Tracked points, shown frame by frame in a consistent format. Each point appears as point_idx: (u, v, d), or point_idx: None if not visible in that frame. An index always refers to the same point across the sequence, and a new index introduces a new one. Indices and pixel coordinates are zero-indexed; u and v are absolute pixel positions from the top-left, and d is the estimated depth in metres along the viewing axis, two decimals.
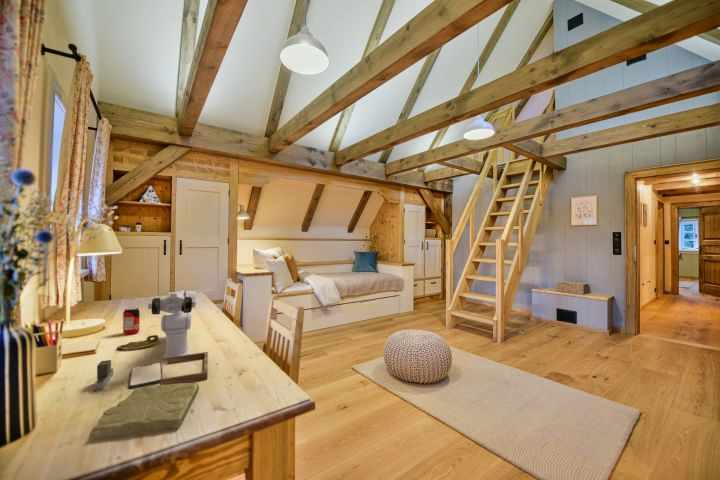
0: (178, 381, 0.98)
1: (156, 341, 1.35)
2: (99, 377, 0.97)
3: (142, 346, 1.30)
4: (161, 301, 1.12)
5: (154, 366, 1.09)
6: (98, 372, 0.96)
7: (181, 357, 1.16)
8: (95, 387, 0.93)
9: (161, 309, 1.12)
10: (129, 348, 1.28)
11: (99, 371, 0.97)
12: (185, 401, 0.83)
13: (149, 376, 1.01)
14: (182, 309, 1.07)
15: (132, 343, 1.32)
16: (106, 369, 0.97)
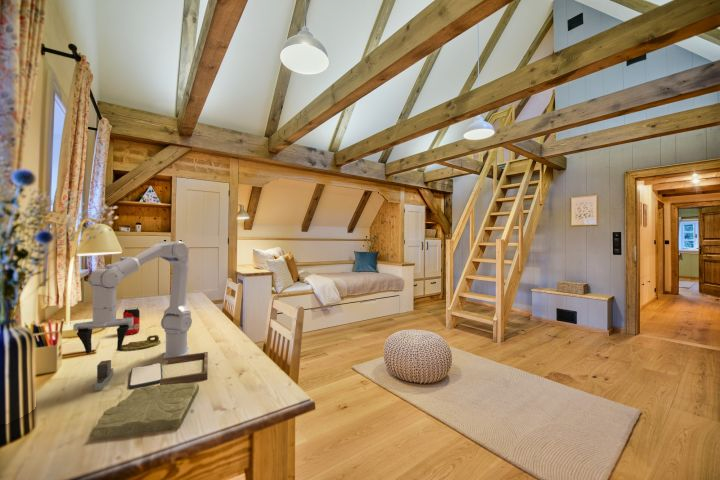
0: (178, 381, 0.98)
1: (156, 341, 1.35)
2: (99, 377, 0.97)
3: (142, 346, 1.30)
4: None
5: (155, 366, 1.09)
6: (98, 372, 0.96)
7: (181, 357, 1.16)
8: (95, 387, 0.93)
9: None
10: (129, 348, 1.28)
11: (99, 371, 0.97)
12: (185, 401, 0.83)
13: (149, 376, 1.01)
14: None
15: (132, 343, 1.32)
16: (106, 369, 0.97)
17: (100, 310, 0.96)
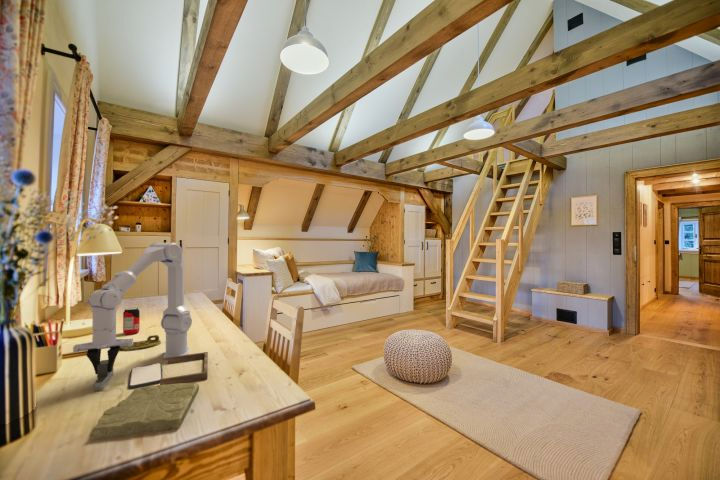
0: (178, 381, 0.98)
1: (157, 341, 1.35)
2: (99, 376, 0.97)
3: (142, 346, 1.30)
4: None
5: (155, 366, 1.09)
6: (98, 371, 0.96)
7: (181, 357, 1.16)
8: (95, 386, 0.93)
9: None
10: (129, 348, 1.28)
11: (99, 370, 0.97)
12: (185, 401, 0.83)
13: (149, 376, 1.01)
14: None
15: (133, 343, 1.32)
16: (106, 368, 0.97)
17: (100, 331, 0.96)
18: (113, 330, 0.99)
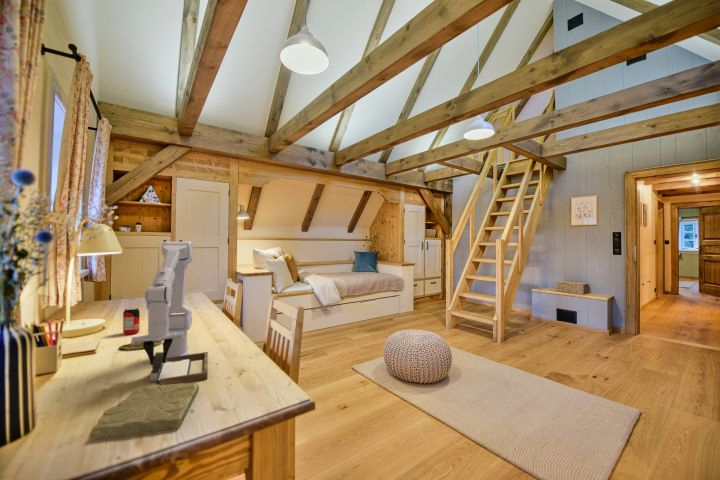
0: (178, 381, 0.98)
1: (158, 341, 1.35)
2: (154, 367, 1.03)
3: None
4: None
5: (184, 362, 1.12)
6: (154, 363, 1.03)
7: (181, 357, 1.16)
8: (151, 377, 0.99)
9: None
10: (130, 348, 1.28)
11: (155, 362, 1.03)
12: (185, 401, 0.83)
13: (177, 372, 1.04)
14: None
15: None
16: (161, 361, 1.04)
17: (156, 325, 1.02)
18: (167, 324, 1.05)
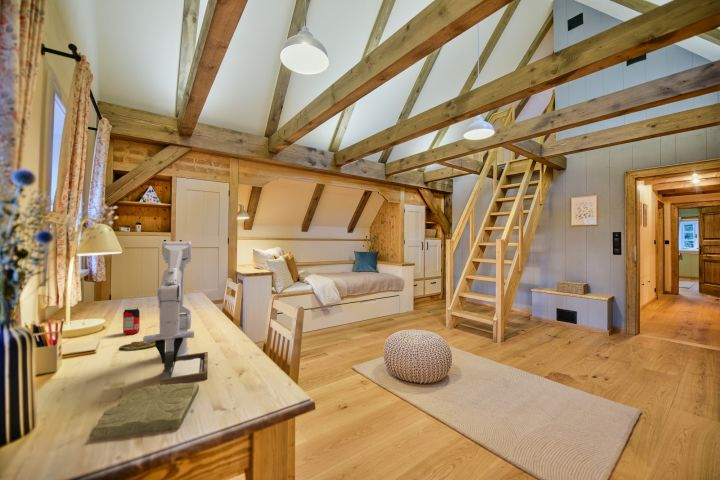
0: (178, 381, 0.98)
1: None
2: (166, 366, 1.04)
3: (144, 346, 1.30)
4: None
5: (195, 361, 1.14)
6: (165, 361, 1.04)
7: (181, 357, 1.16)
8: (164, 375, 1.01)
9: None
10: (131, 348, 1.28)
11: (166, 361, 1.04)
12: (185, 401, 0.83)
13: (189, 370, 1.06)
14: None
15: (135, 343, 1.32)
16: (172, 359, 1.05)
17: (167, 324, 1.04)
18: (178, 323, 1.06)
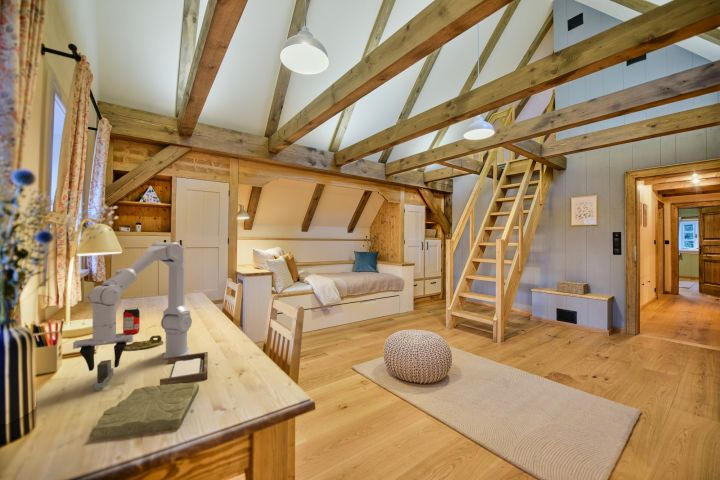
0: (178, 381, 0.98)
1: (159, 341, 1.35)
2: (99, 377, 0.97)
3: (144, 346, 1.30)
4: None
5: (195, 361, 1.13)
6: (98, 372, 0.97)
7: (181, 357, 1.16)
8: (95, 387, 0.93)
9: None
10: (131, 348, 1.28)
11: (99, 371, 0.97)
12: (185, 401, 0.83)
13: (189, 371, 1.05)
14: None
15: (136, 343, 1.32)
16: (106, 369, 0.97)
17: (100, 328, 0.96)
18: (113, 326, 0.99)
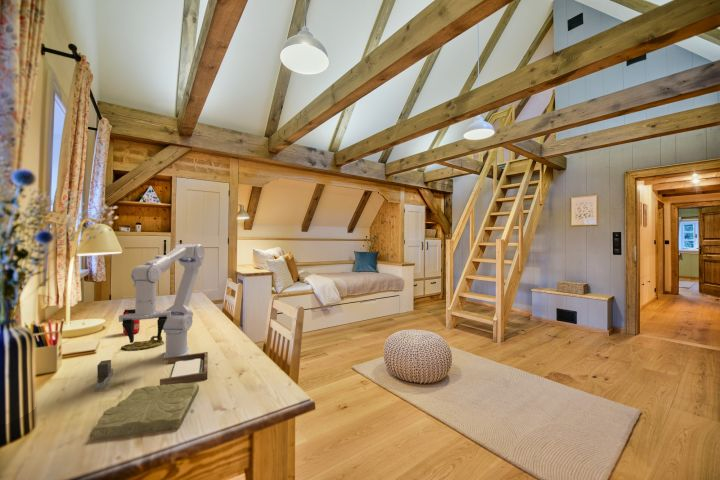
0: (178, 381, 0.98)
1: (159, 342, 1.34)
2: (99, 377, 0.97)
3: (145, 346, 1.30)
4: None
5: (195, 361, 1.13)
6: (98, 372, 0.97)
7: (181, 357, 1.16)
8: (96, 387, 0.93)
9: None
10: (132, 348, 1.28)
11: (99, 371, 0.97)
12: (185, 401, 0.83)
13: (189, 371, 1.05)
14: None
15: (136, 343, 1.32)
16: (106, 369, 0.97)
17: (142, 303, 1.05)
18: (154, 302, 1.08)
